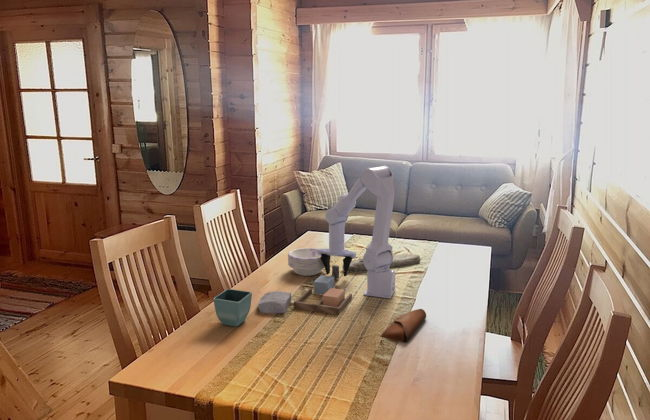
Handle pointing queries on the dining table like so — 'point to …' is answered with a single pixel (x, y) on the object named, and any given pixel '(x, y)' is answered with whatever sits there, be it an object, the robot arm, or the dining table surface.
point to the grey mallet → (326, 281)
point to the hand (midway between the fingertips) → (336, 274)
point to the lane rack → (320, 304)
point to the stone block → (274, 302)
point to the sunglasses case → (405, 326)
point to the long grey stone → (397, 261)
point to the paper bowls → (305, 261)
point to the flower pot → (232, 306)
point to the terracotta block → (334, 297)
